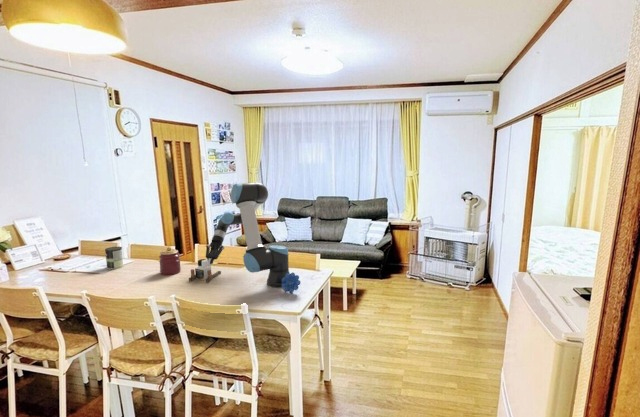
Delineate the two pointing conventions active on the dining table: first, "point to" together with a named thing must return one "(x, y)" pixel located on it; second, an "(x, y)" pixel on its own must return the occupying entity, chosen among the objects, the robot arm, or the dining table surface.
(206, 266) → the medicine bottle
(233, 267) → the dining table surface
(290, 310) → the dining table surface
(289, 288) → the grapes
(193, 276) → the guide channel
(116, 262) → the coffee can
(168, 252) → the canister
